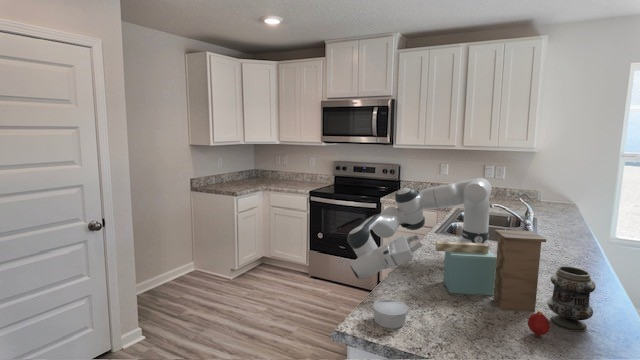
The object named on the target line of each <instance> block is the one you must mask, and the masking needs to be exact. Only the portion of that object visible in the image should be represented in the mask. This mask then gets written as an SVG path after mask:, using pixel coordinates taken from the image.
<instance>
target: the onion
mask: <svg viewBox="0 0 640 360" xmlns="http://www.w3.org/2000/svg"><path fill="white" fill-rule="evenodd" d="M527 319H528V320H527V327H528V328H529V330H530V331H531V333H533V334H534V335H535V337H542V336H545V335H547V334H548V333H549V332H550V330H551V324H550V323H551V322H550V321H549V319H548V318H547V317H546V315H544V313H543V312H542V311H540V310H538V311H536V312H535V313H532V314H531V315H530V316H528V318H527Z"/></svg>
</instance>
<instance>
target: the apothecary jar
mask: <svg viewBox="0 0 640 360" xmlns="http://www.w3.org/2000/svg"><path fill="white" fill-rule="evenodd" d="M549 279H550V282H551V284H553V291H552V296H550V297H549V298H548V299H547V301H546V303H547V307H548V308H549V310H550V311H551V312H553V313H554V314H555V315H552V316H551V317H550V318H549V319H550V321H549V322H550V323H552V324H553V325H554V326H556V327H557V328H560V329H562V330H565V331H568V332H576V333H577V332H578V333H579V332H586V331H587V329H588V327H587V324H586V323H584V322H583V321H587V320H588V319H591V318H592V317H593V315H594V310H593V308H592V305H590V296H591V293H593V292H594V291H595V290H596V288H597V287H596V283H595V282H594V281H593V280H592V278H591V273H590V272H589V271H587V270H585V269H583V268H579V267H575V266H570V265H569V266H568V265H561V266H558V267H557V271H555V272H554V273H552V274H551V275H550V278H549Z"/></svg>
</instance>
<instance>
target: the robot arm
mask: <svg viewBox="0 0 640 360" xmlns="http://www.w3.org/2000/svg"><path fill="white" fill-rule="evenodd" d="M492 190H493V187H492V185H491V182H490V181H488V180H487V179H485V178H482V177H477V178H472V179H467V180H462V181H457V182H453V183H449V184H441V185H436V186H431V187H428V188H425V189H421V190H417V189H414V188H412V187H404V188H400V189H398V190H397V192H395V194H394V197H395V198H394V199H395V202H396V205H397V207H395V206H387V207H386V208H385V209H383V210H382V211H381V212H380V213H378V214H377V213H376V214H373V215H371V216H369V217H368V218H366V219H365V220H364V221H363V222H361V223H360V224H359V225H357V226H356V227H355V228H354V229H352V230H351V231H349V232H348V235H347V243H348V244H349V246H350V247H351V249H352V250H353V252H354V253H355V255H356V256H357V258H356V259H354V260H353V261H351V262H350V263H349V264H350V265H349V266H350V269H351V271H352V273H353V274H354V276H355V277H356V279H358V280H363V279H367V278H369V277H371V276H374V275H377V274H378V273H379V272H381V271H383V270H386V269H388V268H389V269H391V270H395V269H397V268H398V266H401V265H403V264H405V263H407V262H408V261H410V260H412V259H413V258H414V253H415V252H416V251H417V250H419V249H420V248H422V247H423V243H422V242H421V241H417V240H420V237H419V235H418V234H415V235H412V236H406V235H405V234H403V235H401V236H398V237H396V238H395V239H393V240H391V241H390V242H389V244H388V243H385V244H383V245H380V246H379V247H378V245H377V244H376V241H375V240H374V238H373V236H372V234H371V230H372V231H373V233H374V234H375V235H376V236H378V237H379V238H382V239H389V238H391V237H393V236H395V234H397V231H398V230H399V227H400V226H401V228H404V229H407V230H409V231H417V230H420V229H422V228H423V226H425V224H426V217H425V215H424V212H423V211H424V210H437V209H445V208H451V207H456V206H457V207H458V206H459V205H463V226H462V230H461V234H460V235H461V236H460V237H459V238H458V239H457V242H464V243H486V244H487V245H488V246H489V250H490V251H491V252H492V243H491V242H490V241H489V238H490V231H489V222H490V196H491V194H492ZM414 241H417V242H415V244H413V245H410V244H411V243H412V242H414Z"/></svg>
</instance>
